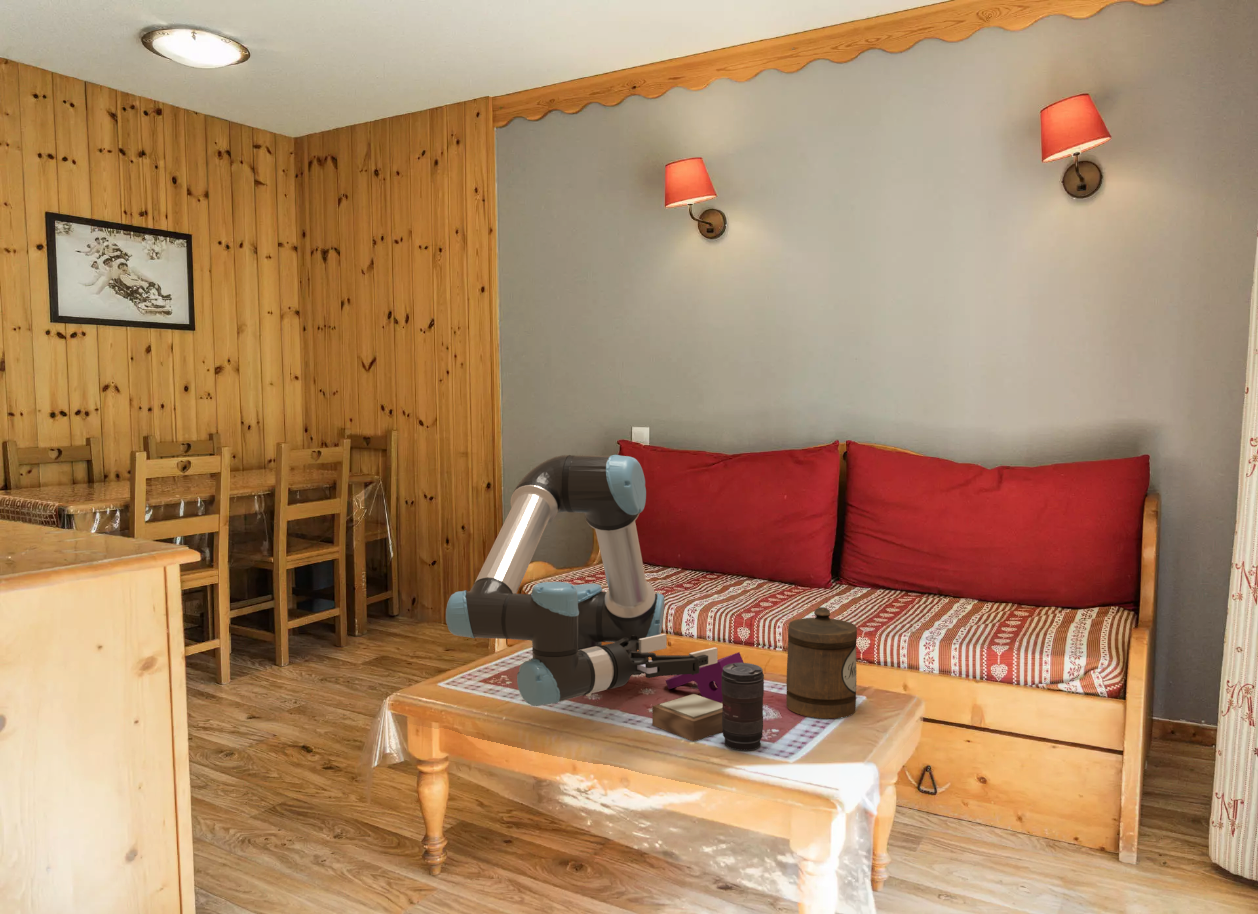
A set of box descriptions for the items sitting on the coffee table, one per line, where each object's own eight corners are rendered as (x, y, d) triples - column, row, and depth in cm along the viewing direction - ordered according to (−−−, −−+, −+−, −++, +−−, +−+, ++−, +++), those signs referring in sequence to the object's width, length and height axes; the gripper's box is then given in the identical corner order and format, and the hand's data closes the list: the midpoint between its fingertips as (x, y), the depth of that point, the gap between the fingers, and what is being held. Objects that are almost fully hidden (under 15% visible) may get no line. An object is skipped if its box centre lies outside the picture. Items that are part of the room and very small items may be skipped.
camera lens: (714, 747, 169) (714, 670, 168) (732, 734, 175) (732, 660, 175) (753, 755, 164) (753, 676, 164) (770, 741, 171) (770, 666, 170)
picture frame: (652, 725, 180) (652, 704, 180) (693, 712, 188) (693, 691, 188) (693, 741, 171) (693, 719, 171) (735, 727, 179) (735, 705, 179)
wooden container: (865, 718, 184) (866, 615, 183) (795, 720, 183) (796, 616, 182) (844, 696, 199) (845, 599, 198) (779, 697, 198) (780, 600, 197)
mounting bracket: (671, 719, 201) (733, 698, 191) (657, 683, 203) (719, 661, 193) (692, 707, 209) (753, 687, 199) (679, 673, 211) (739, 651, 201)
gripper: (559, 673, 161) (645, 654, 175) (649, 707, 142) (739, 682, 156) (558, 633, 161) (645, 616, 174) (649, 661, 142) (739, 640, 155)
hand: (689, 647), depth 165 cm, fingers open, 13 cm apart
